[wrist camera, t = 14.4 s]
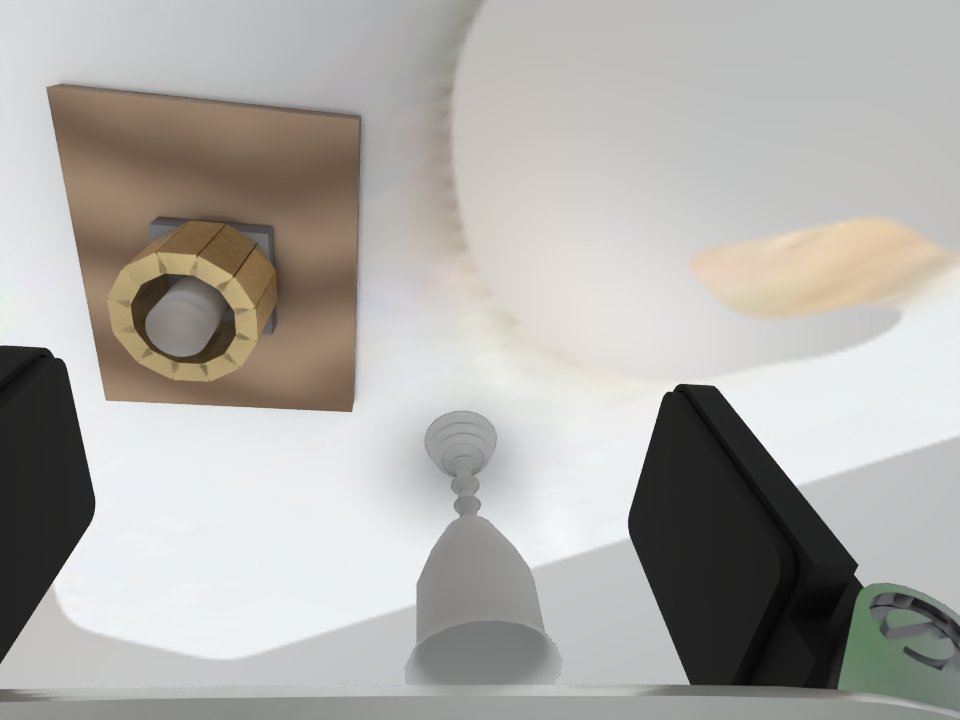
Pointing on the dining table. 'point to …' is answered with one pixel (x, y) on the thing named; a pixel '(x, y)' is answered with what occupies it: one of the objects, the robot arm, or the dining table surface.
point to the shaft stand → (234, 201)
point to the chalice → (476, 583)
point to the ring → (218, 263)
